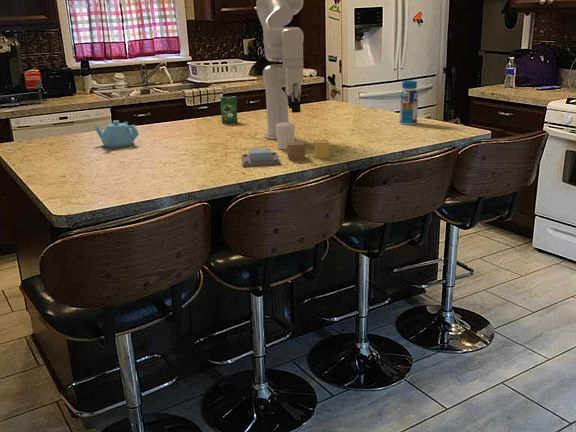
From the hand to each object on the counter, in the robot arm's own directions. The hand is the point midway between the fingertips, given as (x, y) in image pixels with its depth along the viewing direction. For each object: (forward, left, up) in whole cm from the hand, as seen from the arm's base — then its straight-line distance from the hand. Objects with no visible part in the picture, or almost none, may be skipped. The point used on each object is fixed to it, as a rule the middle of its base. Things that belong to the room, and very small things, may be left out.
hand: (294, 110), depth 228 cm
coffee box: (-84, -24, -19) cm, 89 cm away
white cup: (-18, -2, -19) cm, 26 cm away
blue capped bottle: (-55, +61, -19) cm, 84 cm away
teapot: (-44, -74, -19) cm, 88 cm away
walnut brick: (0, 0, -18) cm, 19 cm away
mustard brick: (0, +10, -18) cm, 21 cm away
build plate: (+2, -14, -18) cm, 23 cm away
